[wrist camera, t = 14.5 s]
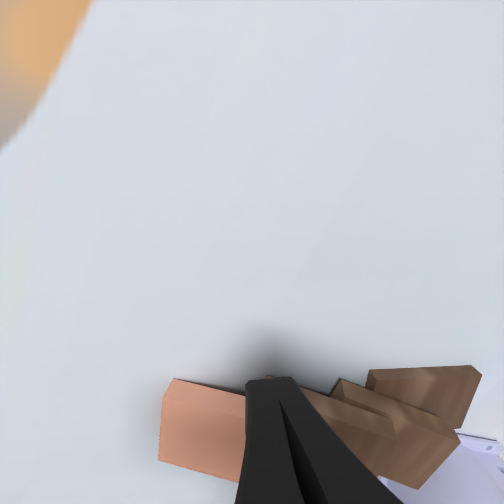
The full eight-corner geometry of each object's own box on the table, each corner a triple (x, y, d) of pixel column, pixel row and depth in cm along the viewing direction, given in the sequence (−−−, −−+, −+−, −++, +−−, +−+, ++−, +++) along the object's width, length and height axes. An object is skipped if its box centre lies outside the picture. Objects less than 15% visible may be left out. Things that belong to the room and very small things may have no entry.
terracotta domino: (173, 378, 20) (302, 410, 19) (168, 438, 22) (286, 470, 21) (162, 397, 19) (301, 432, 18) (158, 460, 20) (284, 495, 20)
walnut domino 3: (341, 378, 22) (449, 421, 22) (308, 428, 24) (409, 467, 24) (344, 396, 20) (461, 442, 21) (310, 449, 22) (417, 490, 23)
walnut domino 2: (365, 363, 23) (465, 359, 24) (352, 417, 25) (445, 411, 26) (376, 380, 22) (482, 374, 23) (361, 436, 23) (460, 428, 25)
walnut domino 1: (267, 374, 21) (391, 419, 20) (249, 431, 23) (363, 475, 22) (262, 392, 20) (397, 441, 19) (243, 451, 21) (366, 498, 20)
